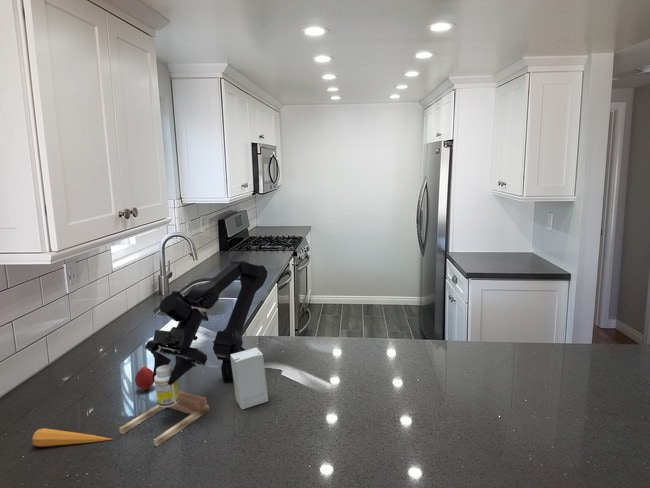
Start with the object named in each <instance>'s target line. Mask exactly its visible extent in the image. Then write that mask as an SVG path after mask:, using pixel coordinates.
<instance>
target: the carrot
mask: <svg viewBox="0 0 650 488" xmlns="http://www.w3.org/2000/svg"><path fill="white" fill-rule="evenodd" d="M31 439H32V445H33V446H35V447H38V448H44V447H46V448H47V447H57V446H59V447H60V446H69V445H78V444H89V443H96V442H104V441H111V440H113V438H110V437H104V436H98V435H95V434H88V433H87V434H86V433H81V432H74V431H67V430H66V431H65V430H59V429H51V428H45V427H44V428H39V429H37V430H36V431H35V432H34V434H33V435H32V438H31Z"/></svg>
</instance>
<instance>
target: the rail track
mask: <svg viewBox="0 0 650 488" xmlns="http://www.w3.org/2000/svg"><path fill="white" fill-rule="evenodd" d="M178 392H179V401H178V403H177V404H175V405H173V406H171V407H160V406H159V405H158V404H156V405H155V406H152V407H151V408H150V409H148V410H146V411H145V412H143V413H141V414H140V415H139V416H137V417H135V418H133V419H131V420H130V421H128V422H126V423H125V424H123V425H121V426H120V427H118V431H119V434H122V435H124V434H127V432H129V431H131V430H133V429H134V428H136V427H137V426H139V425H140V424H142V423H143V421H144V420H145V421H146V419H147V418H148V419H150V418H152V417H153V416H155V415H156V413H157V412H158V413H160V412H162V411H163V410H165V409H166V408H168V409H172V410H175V411H178V412H182V413H184V414H185V413H186V414H189V415H188V416H186V417H185V418H183V419H182V420H180V421H179V422H178V423H176V424H175V425H173V426H172V427H170V428H168V429H167V430H165V431H164V432H163V433H161V434H159V435H158V436H157V437H155V438H153V446H155V447H159V446H160V445H162V444H164V443H165V442H166V441H168V440H170V438H172V437H173V436H174V435H176V434H178V433H179V432H181V431H182V430H184V429H185V428H186V427H188V426H189V425H190V424H192V423H193V422H195V421H196V420H199V418H200V417H203V415H205V414H206V413H208V412H210V406H209V405H208V400H207V398H208V397H206V396H205V397H204V396H201V395H196V394H193V393H188V392H185V391H182V390H178ZM159 411H160V412H159ZM158 413H157V414H158ZM154 414H155V415H154ZM152 415H153V416H152ZM151 416H152V417H151ZM149 417H150V418H149ZM148 419H147V420H148ZM145 421H144V422H145ZM141 422H142V423H141ZM138 424H139V425H138Z"/></svg>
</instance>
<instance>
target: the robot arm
mask: <svg viewBox="0 0 650 488" xmlns="http://www.w3.org/2000/svg"><path fill="white" fill-rule="evenodd" d="M267 277H268V270H267V269H266V267H265V266H264V265H258V264H253V263H250V262H249V263H248V262H247V261H244V260H232V261H231V262H230V263H229V265H227V266H226V267H225V268H224V269H222V270H221V271H220V272H218V273H217V274H216V275H215V276H214V277H213V278H211V279H210V280H209V281H207V282H205V283H200V284H199V285H197V286H195V287H192V288H191V289H190V290H189V291H188V293H187V294H185V295H183V294H182V293H181V292H180V291H177V290H172V291H171V294H168V295H166V296H165V297H164V298H163V299H162V300H161V301H160V304H159V311H160V312H161V313H162V314H164V315H166V316H167V317H169V318H170V319H171V320H173V321H175V322H178V323H177V325H176V326H172V327H171V328H170V330H163V329H161V330H160V329H155V330H154V335H153V338H152V339H150V340H149V341H147V343H146V344H145V346H144V349H145V350H147V351H148V352H150V353H151V354H152V356H153V358H154V363H153V370H152V371H153V379H152V380H153V381H154V377H155V376H156V375H157V374H156V369H157V368H158V367H160V366H162V365H170V363H171V361H172V359H171V358H169V355H171V356H175V365H174V367H173V368H172V374H171V376H170V378H169V382H168V384H169V385H172V384H173V383H174V382H175V381H177V382H178V380H179V379H180V378H181V377H182V376H184V375H185V374H186V373H187V372H188V371H189V370H191V369H192V368H194V367H195V368H196V367H197V365H200V366H205V365H206V364H207V361H208V355H207V354H206V353H205V352H203V351H201V350H200V349H198V348H197V347H192V344H193V341H197V340H198V338H199V337H198V336H197V333H198V331H199V329H200V326H201V324H202V322H203V321H204V322H209V317H208V314H207V311H203V309H204V310H210V309H211V308H213V307H214V306H215V305H216V303H217V302H218V301H219V299H220V296H221V294H222V292H223V291H224V290H226V289H227V288H228V287H229V286H231V284H232V283H234V282H235V281H236V280H237V279H238V278H239V282H240V286H241V287H240V291H239V293H238V295H237V298H236V300H235V303H234V306H233V309H232V312H231V314H230V317H229V320H228V322H227V325H226V327H225V328H224V329H223V330H218V331H217V332H216V335H215V338H214V340H213V341H212V343H213V345H212V350H213V354H214V355H215V356H216V359H217V361H222V363H221V364H220V369H221V378H222V379H223V383H230V382H234V380H233V373H232V366H231V358H230V354H234V353H238V352H242V351H245V350H246V349H245V348H244V347H243V344H244V340H243V336H242V335H243V334H242V332H243V328H244V326H245V324H246V323H245V322H246V320H247V317H248V314H249V311H250V309H251V307H252V304H253V300H254V297H255V295H256V293H257V291H258V290H259V289H261V288H262V287H263V285H264V284H265V282H266V281H267V279H268V278H267ZM199 309H202V310H199ZM154 382H155V381H154Z"/></svg>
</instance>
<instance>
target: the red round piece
mask: <svg viewBox="0 0 650 488" xmlns="http://www.w3.org/2000/svg"><path fill="white" fill-rule="evenodd" d="M153 371H154V370H152V369H150V368H149V367H147V365H145V364H144V365H142V366H141V367H140V369H139V370H137V373H136V374H135V377H134V383H135V385H136V387H138V388H139V389H141V390H144V391H147V390H149V389H150V388H151V387H152V386H153V385H154V384H155V381H153V380H152V379H153Z"/></svg>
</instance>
